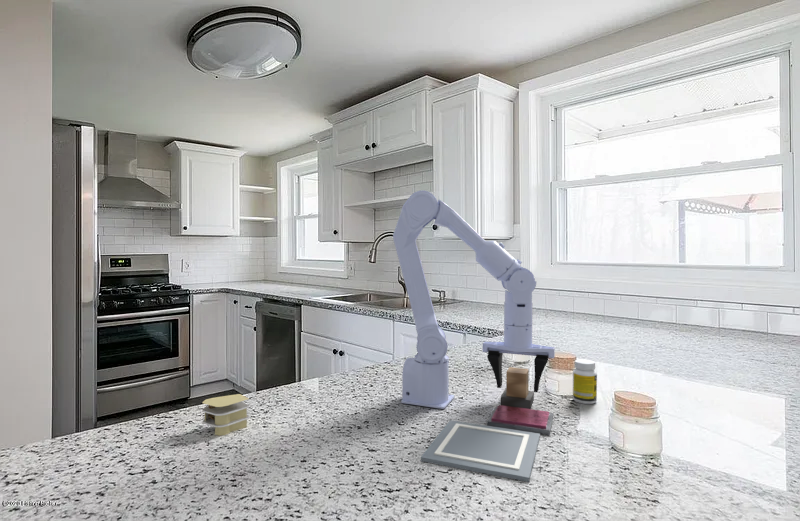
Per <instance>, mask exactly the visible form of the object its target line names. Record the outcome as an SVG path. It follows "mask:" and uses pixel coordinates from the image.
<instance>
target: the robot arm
mask: <svg viewBox="0 0 800 521" xmlns="http://www.w3.org/2000/svg"><path fill="white" fill-rule="evenodd" d="M433 220H434V222H433V225H434V226H439V227H443V228H447V229H448V230H449V231H450V232H452V233H453V234H454V235H455V236H456V237H457V238H458V239H459V240H460V241H462V242H463V243H464V244H465V245H467V246H468V247H469V248H470V249H471V250H473V251H474V253H475V262H476V263H477V264H479V265H480V266H481V267H482V268H483V269H485V271H487V273H489V274H490V275H491V276H492V277H493V278H494V279H495V280H497V281H499V282H500V283H501V286H502V288H503V289H504V302H503V303H504V305H503V307H504V309H503V312H504V313H503V315H504V316H503V325H504V326H503V341H483V342H482V353H487V355H486V357H487V360H488V363H490V367H491V369H492V371H493V374H494V377H495V382H496V387H497V388H498V389H501V388H502V386H503V354H507V355H508V354H510V355H521V356H529V357H533V356H534V357H535V358H534V361H533V363H534V364H533V365H534V379H533V381H534V382H533V383H534V384H533V392H534V393H538V392H539V387H540V381H541V377H542V375H543V372H544V370H545V369H546V366H547V364H548V362H549V359H555V355H556V351H555V350H556V347H555V346H548V345H547V346H546V345H542V344H535V343H533V292H534V290H535V289H536V287H537V281H536V279H535V278H536V277H535V276H534V274H533V272H532V271H531V270H529V269H528V268H525V267H523V266H521V264H522V263H523V262H522V261H521V260H520V259H518V258H517V259H516V258H515V257H514V256H512V255H511V254H510V253H509V252H508V251H507V250H505V247H506V245H504V243H503V242H497V241H495V240H485V239H484V238H483V237H482V236H481V235H480V234H479V233H478V232H477V231H476V230H475V229H474V228H473V227H472V226H471V225H470V224H469V223H468V222H467V221H466V220H465V219H464V218H462V216H460V214H459V213H458V212H456V211H455V209H453V208H452V207H450V206H449V205H448V204H446V203H445V202H444V201H443V200H441V199H437V197H436V196H435V195H434V194H433V193H432V192H430V191H429V190H428V191H427V190H422V189H421V190H417V191H414V192H413V193H412V194H410V196H409V197H408V198H407V199H406V201H405V202H404V204H403V205H402V207H401V210H400V214H399V216H398V219H397V222H396V225H395V228H394V231H393V234H392V237H393V238H392V239H393V243H394V247H395V251H396V254H397V257H398V258H397V259H398V262H399V266H400V269H401V274H402V278H403V280H404V284H405V285H404V286H405V289H406V292H407V296H408V297H407V298H408V299H409V300H408V301H409V303H410V304H409V305H410V307H411V311H412V315H413V319H414V325H415V330H416V334H417V337H416V340H417V342H416V352H417V354H415V355H414V357H407V358H406V359H405V360H404V363H403V367H402V375H401V377H402V381H401V382H402V383H401V384H402V385H401V386H402V388H401V390H402V395H401V397H402V398H401V401H400V403H402V404H406V405H413V406H421V407H425V408H426V407H427V408H435V409H439V410H440V409H443V410H444V409H446V408H447V407H448V405H449V404H450V403H451V402H452V401H453V400H454V398H455V395H454V394H449V390H450V389H449V386H450V384H449V376H450V375H449V372H450V371H449V368H450V367H449V362H450V361H449V360H450V358H449V356H448V355H447V352H448V350H449V349H448V346H449V345H448V342H447V338H446V334H445V331H444V329H443V328H441V327H440V325H439V324H438V320H437V316H436V313H435V310H434V309H435V308H434V306H433V302H432V298H431V295H430V291H429V287H428V283H427V278H426V275H425V271H424V267H423V263H422V259H421V256H420V252H419V248H418V245H417V239H418V238H419V236H420V234H421V233H422V232H423V230H424V228H425V227H426V226H428V225H429V224H430V223H431V222H432V221H433Z"/></svg>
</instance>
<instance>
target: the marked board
mask: <svg viewBox="0 0 800 521" xmlns="http://www.w3.org/2000/svg"><path fill="white" fill-rule="evenodd" d="M540 439H541V434H539V433H532V432H526V431H519V430H513V429H506V428H500V427H493V426H487V424H486V425H485V424H481V423H480V424H479V423H473V422H468V421H467V422H465V421H458V420H452V419H449V421H448V422H447V423H446V425H445V426H444V427H443V428H442V430H441V431H440V432H439V433H438V434H437V436H436V437H435V438H434V440H432V442H431V443H430V445H429V446H428V448H427V449H426V450H425V451H424V453H423V454H422V455H421V457H420V461H421V462H423V463H424V462H425V463H430V464H435V465H439V466H443V467H444V466H445V467H450V468H451V467H452V468H454V469H455V468H456V469H461V470H465V471H471V472H476V473H482V474H487V475H491V476H492V475H493V476H495V477H502V478H505V479H506V478H507V479H512V480H518V481H523V482H527V483H529V482H530V479H531V475H532V473H533V467H534V463H535V459H536V455H537V452H538V447H539V443H540V441H541V440H540Z"/></svg>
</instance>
